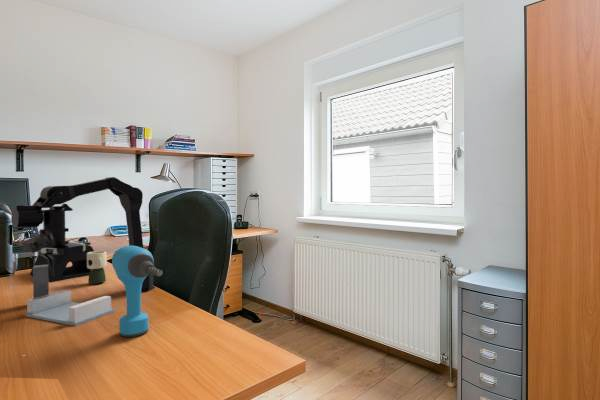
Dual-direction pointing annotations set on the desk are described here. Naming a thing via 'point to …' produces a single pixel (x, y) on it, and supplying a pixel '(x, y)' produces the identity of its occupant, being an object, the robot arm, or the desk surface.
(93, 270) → the character mug
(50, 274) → the device stand
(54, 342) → the desk surface
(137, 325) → the power drill
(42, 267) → the steel block
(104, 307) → the vise base
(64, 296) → the bar
